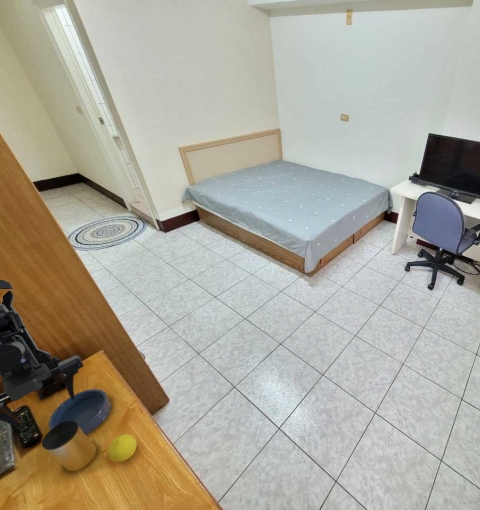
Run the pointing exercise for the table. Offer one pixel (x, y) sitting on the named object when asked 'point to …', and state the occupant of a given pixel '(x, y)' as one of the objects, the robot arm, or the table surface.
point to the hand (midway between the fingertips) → (49, 412)
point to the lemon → (122, 448)
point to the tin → (69, 445)
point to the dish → (83, 410)
